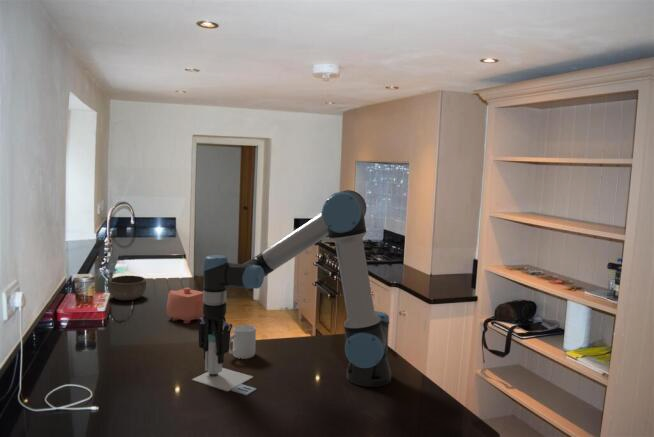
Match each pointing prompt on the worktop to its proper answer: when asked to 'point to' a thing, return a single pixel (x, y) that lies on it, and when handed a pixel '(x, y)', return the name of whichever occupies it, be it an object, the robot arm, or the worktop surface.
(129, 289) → the bowl
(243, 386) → the word card
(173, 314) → the teapot
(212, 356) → the marker
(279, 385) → the worktop surface
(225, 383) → the paper
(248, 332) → the mug
